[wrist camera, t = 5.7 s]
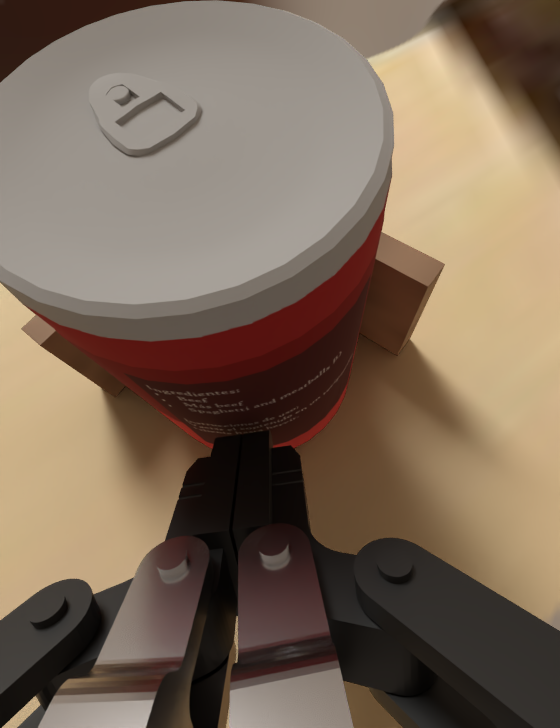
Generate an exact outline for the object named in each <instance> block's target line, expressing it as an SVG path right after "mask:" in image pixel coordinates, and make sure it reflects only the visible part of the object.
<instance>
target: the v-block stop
mask: <svg viewBox="0 0 560 728" xmlns="http://www.w3.org/2000/svg"><path fill="white" fill-rule="evenodd" d="M444 265H445V264H444V263H442V262H440V261H438V260H436V259H434V258H432V257H430V256H428V255H426V254H424V253H422V252H420V251H418V250H416V249H414V248H412V247H410V246H408V245H406V244H404V243H402V242H400V241H398V240H396V239H394V238H392V237H390V236H388V235H386V234H384V233H382V232H381V236H380V240H379V245H378V249H377V254H376V258H375V263H374V268H373V272H372V277H371V281H370V286H369V290H368V295H367V300H366V304H365V309H364V313H363V318H362V322H361V327H360V331H359V333H361V334H362V335H364V336H366V337H367V338H369V339H370V340H372V341H374V342H375V343H377V344H379V345H380V346H382V347H384V348H385V349H387V350H389V351H390V352H392V353H394V354H395V355H397V356H398V354H399V353H400V351H401V350H402V349H403V347H404V346H405V345H406V343H407V342H408V340H409V339H410V337H411V335H412V333H413V331H414V329H415V327H416V325H417V322H418V320H419V318H420V316H421V314H422V312H423V310H424V308H425V305H426V303H427V301H428V299H429V297H430V295H431V293H432V291H433V289H434V286H435V284H436V282H437V280H438V278H439V276H440V274H441V272H442V269H443V267H444ZM21 329H22V330H23V331H24V332H25V333H26V334H27V335H29V336H30V337H31V338H32V339H33V340H34V341H35V342H37V343H38V344H39V345H40V346H41V347H43V348H44V349H46V350H47V351H49V352H50V353H52V354H53V355H55V356H56V357H57V358H59V359H60V360H62V361H63V362H65V363H66V364H68V365H69V366H71V367H72V368H73V369H75V370H76V371H78V372H79V373H81V374H82V375H84V376H85V377H87V378H88V379H89V380H91V381H92V382H94V383H95V384H97V385H98V386H100V387H101V388H103V389H104V390H105V391H107V392H108V393H110V394H111V395H113V396H114V397H116V396H117V395H118V394H119V393H120V391H121V390H122V389H123V388H124V387H125V385H124V384H123V383H122V382H120V381H119V380H118V379H116V378H115V377H114V376H112V375H111V374H110V373H109V372H107V371H106V370H105V369H103V368H102V367H101V366H100V365H98V364H97V363H96V362H94V361H93V360H92V359H90V358H89V357H88V356H87V355H85V354H84V353H83V352H81V351H80V350H79V349H77V348H76V347H75V346H74V345H72V344H71V343H70V342H68V341H67V340H66V339H65V338H63V337H62V336H61V335H60V334H59V333H58V332H57V331H56V330H55V329H54V328H53V327H51V326H50V325H49V324H47V323H46V322H45V321H44V320H42V319H41V318H40V317H39V316H37V315H36V316H34V317H33V318H32V319H31V320H30V321H29V322H28V323H27V324H26V325H25V326H24V327H22V328H21Z"/></svg>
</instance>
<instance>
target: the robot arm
mask: <svg viewBox="0 0 560 728" xmlns="http://www.w3.org/2000/svg"><path fill="white" fill-rule="evenodd" d="M236 616H238V661H237V663H235V661H236V645H235V641H234V635H235V623H236ZM343 681H347V682H351V683H355V684H359V685H362V686H366V687H369V689H370V691H371V693H372V695H373V696H374V698H375V699H376V700H377V701H378V702H379V703H380V704H381V705H382V706H383V707H384V708H385V709H386V710H387V711H388V713H389V714H390V715H391V716H392V717H393V718H394V719H395V720H396V721H397V722H398V723H399V724H400V725H401V726H402V727H403V728H560V631H559V630H557V629H555V628H554V627H552V626H550V625H549V624H547V623H545V622H544V621H542V620H540V619H539V618H537V617H536V616H534V615H532V614H531V613H529V612H527V611H526V610H524V609H522V608H521V607H519V606H517V605H516V604H514V603H512V602H511V601H509V600H507V599H506V598H504V597H502V596H501V595H499V594H497V593H496V592H494V591H492V590H491V589H489V588H487V587H486V586H484V585H482V584H481V583H479V582H478V581H476V580H474V579H473V578H471V577H469V576H468V575H466V574H464V573H463V572H461V571H459V570H458V569H456V568H454V567H453V566H451V565H449V564H448V563H446V562H444V561H443V560H441V559H439V558H438V557H436V556H434V555H433V554H431V553H429V552H428V551H426V550H424V549H423V548H421V547H420V546H418V545H416V544H414V543H412V542H409V541H407V540H403V539H399V538H383V539H378V540H375V541H372V542H370V543H368V544H367V545H365V546H364V547H363V548H362V549H361V550H360V551H359V553H358V554H357V555H353V554H346V553H341V552H336V551H333V550H330V549H328V548H326V547H324V546H323V545H321V544H320V543H319V542H318V541H317V540H316V539H315V538H314V537H313V535H312V534H311V529H310V522H309V514H308V506H307V499H306V492H305V486H304V479H303V473H302V466H301V460H300V455H299V454H298V453H297V452H296V451H295V449H294V448H293V447H292V446H291V445H289V446H282V447H275V448H274V447H273V442H272V436H271V432H270V430H265V431H258V432H251V433H244V434H243V435H242V434H238V435H231V436H224V437H217V438H215V440H214V445H213V449H212V453H211V457H205V458H198V459H197V460H196V461H195V463H194V464H193V465H192V466H191V467H190V468H189V469H188V471H187V472H186V476H185V479H184V482H183V488H181V492H180V495H179V500H178V501H177V504H176V507H175V511H174V514H173V517H172V520H171V523H170V526H169V530H168V533H167V536H166V539H165V541H164V542H162V543H161V544H159V545H158V546H156V547H155V548H153V549H152V550H151V551H150V552H149V553H148V554H147V555H146V556H145V557H144V559H143V560H142V562H141V563H140V565H139V567H138V570H137V572H136V574H135V576H134V578H132V579H130V580H128V581H126V582H123V583H121V584H118V585H116V586H114V587H111V588H109V589H106V590H104V591H101V592H99V593H96V594H94V595H93V592H92V590H91V588H90V586H89V585H88V583H86V582H85V581H83V580H80V579H67V580H62V581H59V582H56V583H53V584H51V585H49V586H47V587H45V588H44V589H42V590H40V591H39V592H37V593H36V594H35V595H33V596H32V597H30V598H29V599H28V600H27V601H25V602H24V603H23V604H21V605H20V606H19V607H17V608H16V609H15V610H13V611H12V612H11V613H10V614H8V615H7V616H6V617H4V618H3V619H2V620H0V728H2V727H3V726H4V725H5V724H6V723H7V722H8V721H9V720H10V719H11V718H12V717H13V716H14V715H15V714H16V713H17V712H19V711H20V710H21V709H22V708H23V707H24V706H25V705H26V704H27V703H28V702H29V701H30V700H31V699H32V698H33V697H34V696H36V697H37V699H38V701H39V702H40V704H41V705H40V706H39V707H38V708H37V709H36V710H35V711H34V712H33V713H32V714H31V715H30V716H29V717H28V718H27V719H26V720H25V721H24V722H23V723H22V724H21V725H20V726H19V727H17V728H226V724H227V717H228V710H229V728H354V727H353V723H352V719H351V714H350V710H349V705H348V701H347V696H346V692H345V688H344V683H343ZM229 703H230V709H229Z"/></svg>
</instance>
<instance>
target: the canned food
mask: <svg viewBox="0 0 560 728" xmlns="http://www.w3.org/2000/svg"><path fill="white" fill-rule="evenodd" d="M393 148H394V126H393V111H392V108H391V105H390V102H389V99H388V96H387V93H386V90H385V87H384V84H383V83H382V81H381V80H380V78H379V77H378V75H377V74H376V72H375V71H374V69H373V68H372V66H371V65H370V63H369V62H368V60H367V59H366V58H365V57H364V56H362V55H361V54H360V53H359V52H358V51H357V50H356V49H355V48H354V47H353V46H351V45H350V44H349V43H348V42H347V41H346V40H345V39H344V38H342V37H340V36H338V35H337V34H335V33H333V32H331V31H330V30H328V29H327V28H325V27H323V26H322V25H320V24H318V23H316V22H313V21H311V20H308V19H306V18H303V17H300V16H297V15H295V14H293V13H290V12H287V11H283V10H278V9H274V8H269V7H264V6H260V5H256V4H250V3H239V2H227V1H184V2H177V3H169V4H163V5H155V6H149V7H145V8H141V9H137V10H133V11H129V12H125V13H121V14H117V15H115V16H112V17H109V18H106V19H103V20H101V21H98V22H95V23H92V24H90V25H87V26H85V27H83V28H81V29H78V30H77V31H74V32H73V33H71V34H68V35H66V36H65V37H63V38H60V39H58V40H56V41H55V42H53V43H52V44H50V45H49V46H47V47H45V48H44V49H42V50H41V51H39V52H38V53H37V54H35V55H34V56H32V57H30V58H29V59H27V60H26V61H25V62H24V63H23V64H21V65H20V66H19V67H18V68H17V69H16V70H15V71H13V72H12V73H11V74H10V75H9V76H8V77H7V78H5V79H4V80H3V81H2V82H1V83H0V283H1V284H2V285H3V286H5V287H6V288H7V289H8V290H9V291H10V292H11V293H12V294H13V295H14V296H15V297H16V298H17V299H18V300H19V301H20V302H21V303H22V304H23V305H25V306H26V307H27V308H28V309H30V310H31V311H32V312H33V313H35V314H36V315H37V316H39V317H40V318H41V319H42V320H44V321H45V322H46V323H47V324H49V325H50V326H51V327H53V328H54V329H55V330H56V331H57V332H58V333H59V334H60V335H61V336H62V337H63V338H65V339H66V340H67V341H68V342H70V343H71V344H72V345H74V346H75V347H76V348H77V349H79V350H80V351H81V352H83V353H84V354H85V355H87V356H88V357H89V358H90V359H92V360H93V361H94V362H96V363H97V364H98V365H100V366H101V367H102V368H103V369H105V370H106V371H107V372H109V373H110V374H111V375H112V376H114V377H115V378H116V379H118V380H119V381H120V382H122V383H123V384H124V385H125V386H127V387H128V388H129V389H131V390H132V391H133V392H135V393H136V394H137V395H138V396H140V397H141V398H142V399H144V400H145V401H146V402H147V403H149V404H150V405H151V406H153V407H154V408H155V409H157V410H158V411H159V412H160V413H162V414H163V415H164V416H166V417H167V418H168V419H170V420H171V421H172V422H173V423H175V424H176V425H177V426H179V427H180V428H181V429H182V430H184V431H185V432H186V433H188V434H189V435H190V436H192V437H193V438H194V439H196V440H198V441H199V442H201V443H203V444H204V445H206V446H208V447H210V448H212V449H213V445H214V440H215V438H217V437H224V436H231V435H238V434H242V435H243V434H244V433H251V432H258V431H265V430H270V432H271V436H272V442H273V447H274V448H275V447H282V446H289V445H291V446H292V447H293V448H295V447H297V446H299V445H301V444H303V443H305V442H307V441H309V440H310V439H311V438H312V437H314V436H315V435H316V434H317V433H319V432H320V431H321V430H322V429H324V428H325V426H326V425H327V424H328V423H329V421H330V420H331V419H332V418H333V416H334V415H335V414H336V413H337V411H338V409H339V407H340V405H341V403H342V401H343V399H344V397H345V393H346V389H347V385H348V381H349V377H350V373H351V368H352V363H353V359H354V354H355V350H356V345H357V341H358V336H359V331H360V327H361V322H362V318H363V313H364V309H365V304H366V300H367V295H368V290H369V286H370V281H371V277H372V272H373V268H374V263H375V258H376V254H377V249H378V245H379V240H380V236H381V231H382V226H383V222H384V212H385V207H386V202H387V197H388V192H389V187H390V183H391V178H392V153H393Z"/></svg>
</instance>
